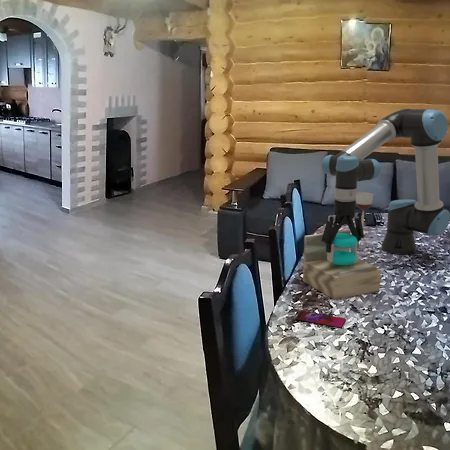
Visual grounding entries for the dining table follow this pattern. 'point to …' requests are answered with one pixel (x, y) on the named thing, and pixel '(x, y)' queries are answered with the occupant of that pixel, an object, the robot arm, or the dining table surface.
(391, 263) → the dining table surface
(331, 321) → the smartphone
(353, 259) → the donuts
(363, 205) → the wineglass
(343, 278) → the display stand
